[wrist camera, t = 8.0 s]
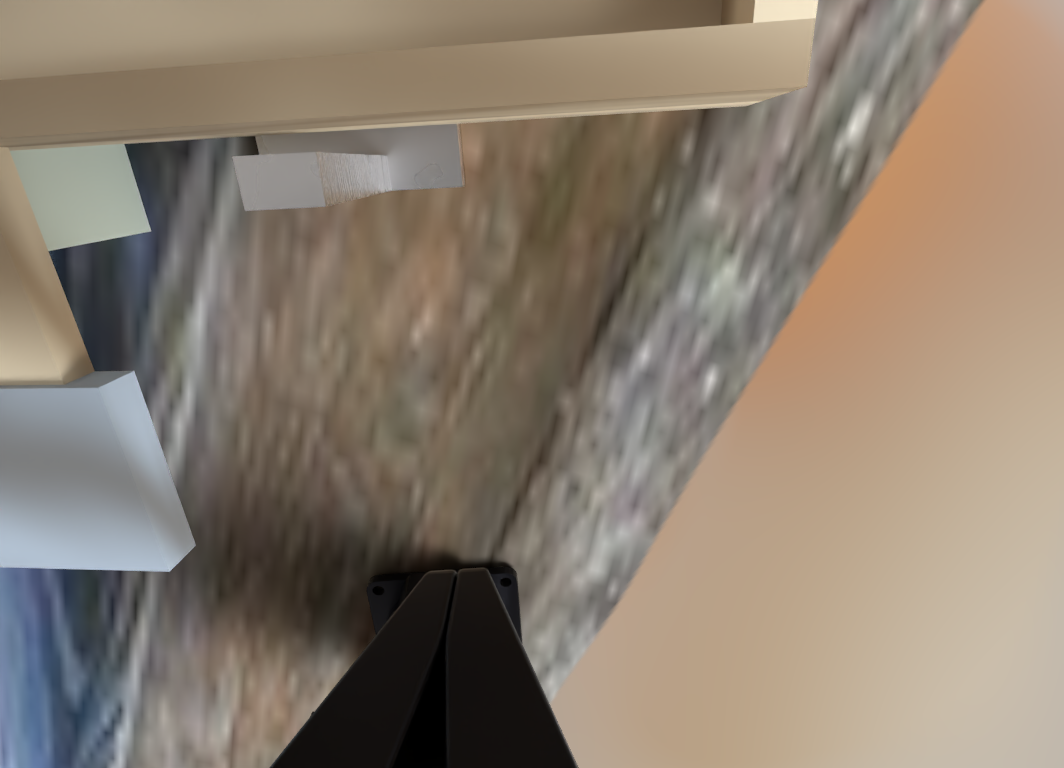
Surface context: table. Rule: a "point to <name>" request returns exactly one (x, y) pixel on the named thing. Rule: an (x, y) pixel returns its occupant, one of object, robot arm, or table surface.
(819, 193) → the table surface
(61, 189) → the bin
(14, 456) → the lever
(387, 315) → the table surface
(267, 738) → the table surface
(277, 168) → the pivot stand
